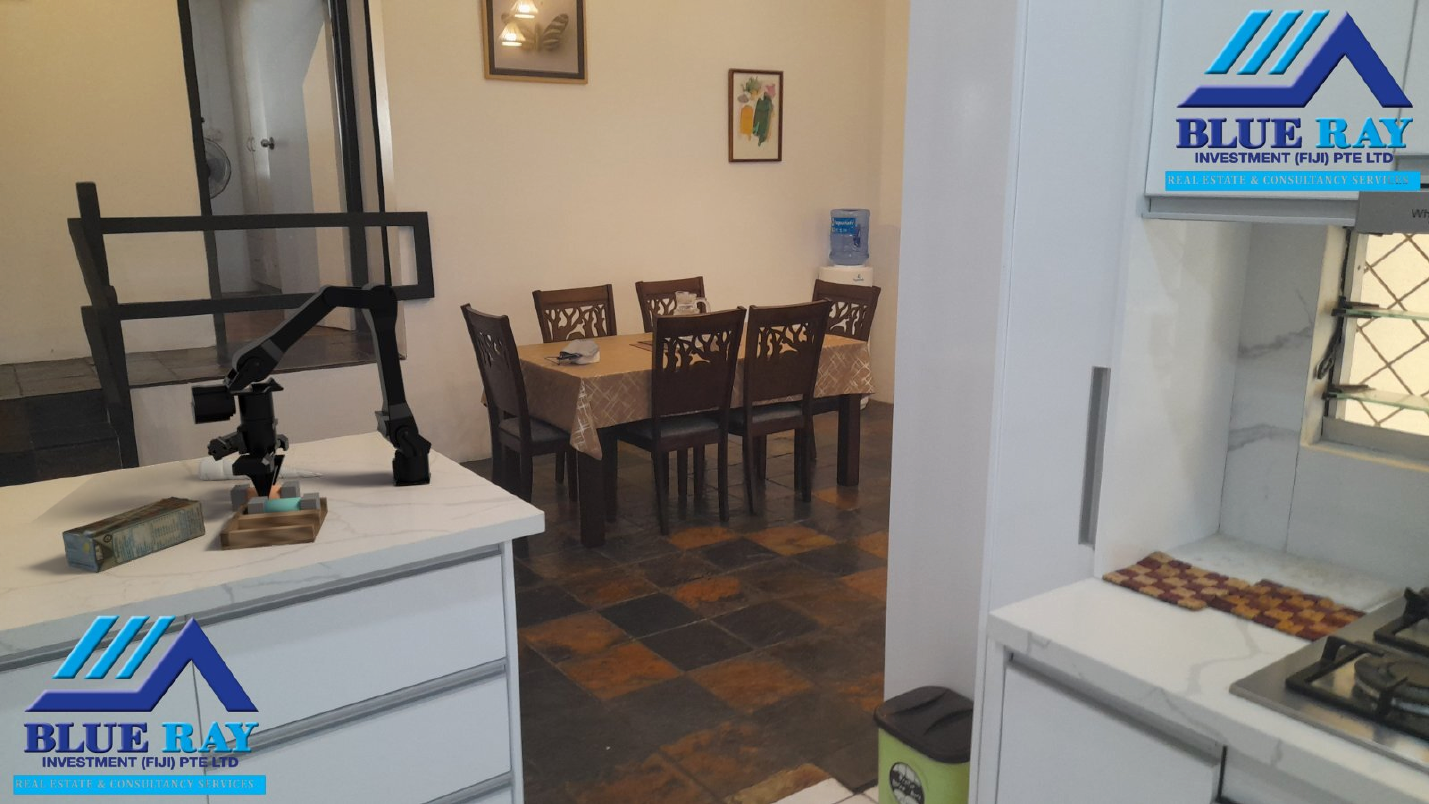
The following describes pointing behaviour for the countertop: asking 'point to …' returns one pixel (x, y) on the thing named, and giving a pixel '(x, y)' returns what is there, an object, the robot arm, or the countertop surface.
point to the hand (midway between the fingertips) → (266, 498)
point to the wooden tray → (272, 527)
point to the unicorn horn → (223, 471)
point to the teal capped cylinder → (283, 504)
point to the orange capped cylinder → (246, 492)
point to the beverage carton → (133, 534)
